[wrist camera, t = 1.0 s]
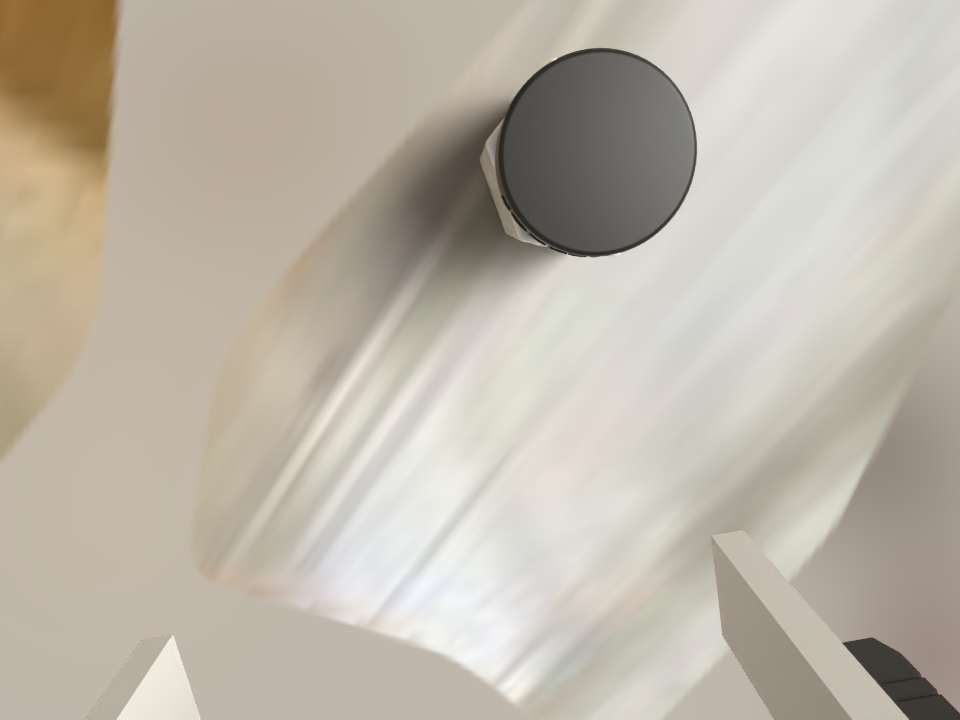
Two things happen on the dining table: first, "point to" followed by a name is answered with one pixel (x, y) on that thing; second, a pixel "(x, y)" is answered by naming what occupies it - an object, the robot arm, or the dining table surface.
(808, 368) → the dining table surface
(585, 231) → the jar
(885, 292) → the dining table surface
